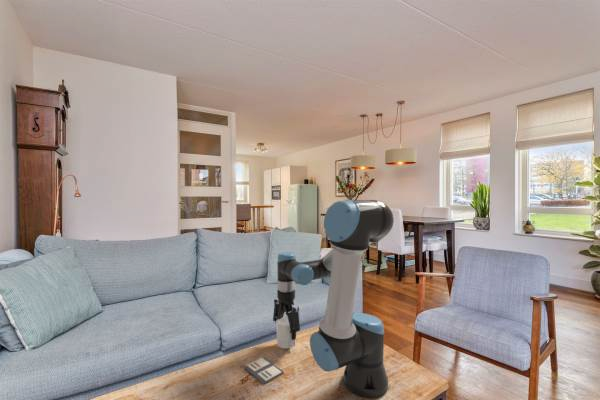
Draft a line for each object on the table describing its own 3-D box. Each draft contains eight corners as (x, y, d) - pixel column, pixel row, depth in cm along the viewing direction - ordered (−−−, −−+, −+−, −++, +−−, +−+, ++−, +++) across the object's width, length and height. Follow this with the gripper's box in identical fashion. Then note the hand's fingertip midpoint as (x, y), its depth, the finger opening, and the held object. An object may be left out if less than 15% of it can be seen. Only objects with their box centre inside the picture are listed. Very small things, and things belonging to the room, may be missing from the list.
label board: (283, 373, 104) (283, 370, 104) (263, 384, 98) (263, 381, 98) (264, 359, 113) (264, 356, 113) (244, 368, 107) (244, 365, 107)
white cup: (295, 340, 125) (295, 317, 125) (293, 350, 117) (293, 326, 117) (277, 339, 126) (277, 316, 125) (274, 348, 118) (274, 324, 118)
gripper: (309, 293, 116) (308, 348, 117) (278, 281, 131) (277, 330, 132) (295, 298, 111) (295, 356, 112) (264, 285, 126) (264, 336, 127)
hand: (285, 342), depth 122 cm, fingers closed on white cup, 7 cm apart
